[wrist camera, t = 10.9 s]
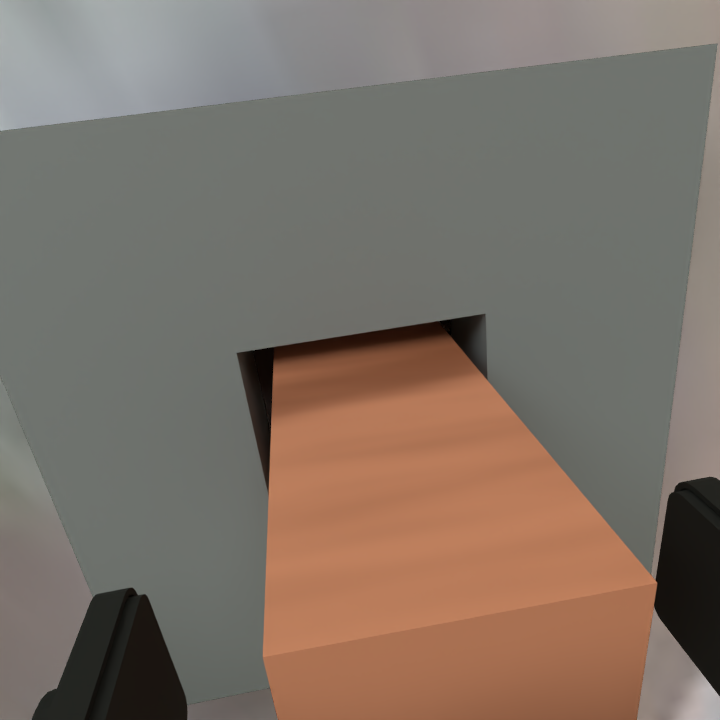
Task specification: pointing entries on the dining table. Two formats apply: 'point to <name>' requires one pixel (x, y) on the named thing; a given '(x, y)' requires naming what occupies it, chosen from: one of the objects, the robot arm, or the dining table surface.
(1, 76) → the dining table surface
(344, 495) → the peg
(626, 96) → the socket block
